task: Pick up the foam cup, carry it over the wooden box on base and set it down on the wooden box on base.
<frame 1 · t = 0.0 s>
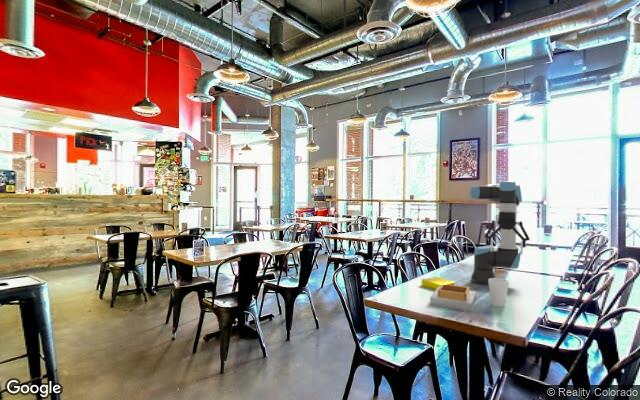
hand: (506, 252, 177), 28 cm above the table, tool pointing down, fingers open, 13 cm apart
foam cup: (498, 305, 180), on the table
wooden box on base: (453, 301, 185), on the table
element tile: (437, 287, 214), on the table
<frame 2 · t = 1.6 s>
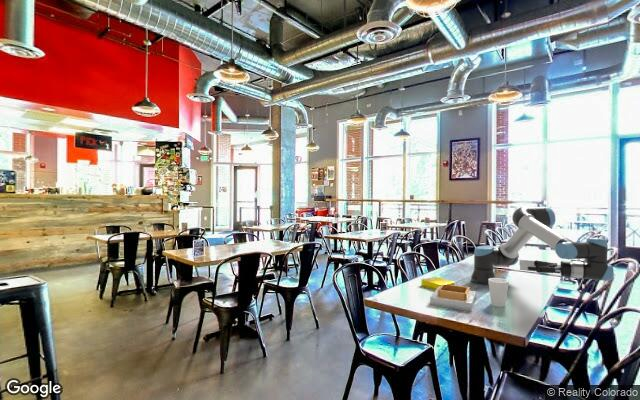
hand: (519, 264, 175), 22 cm above the table, tool horizontal, fingers open, 13 cm apart
nothing on the table moved.
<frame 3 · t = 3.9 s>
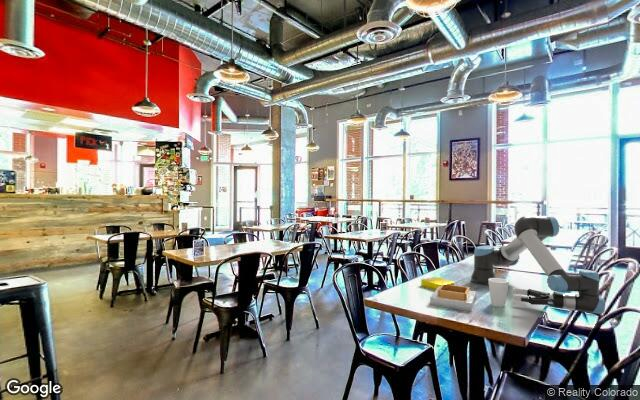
hand: (512, 294, 176), 7 cm above the table, tool horizontal, fingers open, 13 cm apart
nothing on the table moved.
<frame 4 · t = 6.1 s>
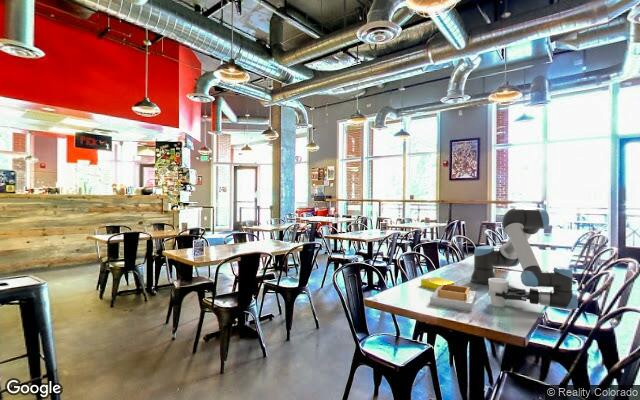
hand: (488, 290, 182), 7 cm above the table, tool horizontal, fingers closed on foam cup, 9 cm apart
foam cup: (498, 305, 180), on the table, touching gripper
everything else where it was.
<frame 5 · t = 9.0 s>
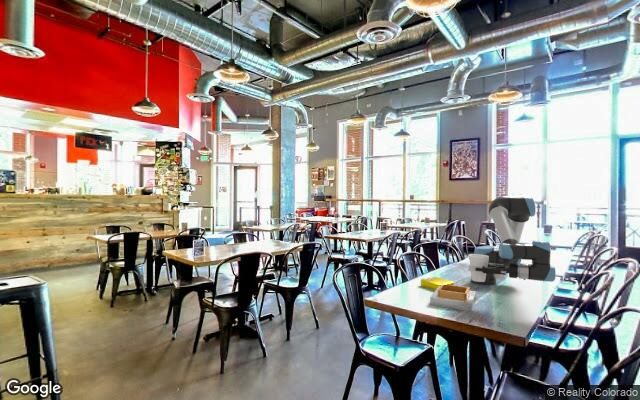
hand: (469, 266, 182), 20 cm above the table, tool horizontal, fingers closed on foam cup, 9 cm apart
foam cup: (478, 280, 180), point 12 cm above the table, touching gripper
everything else where it was.
when the fingers open (12 cm above the table, at t = 12.0 s): foam cup drops 1 cm, resting on wooden box on base.
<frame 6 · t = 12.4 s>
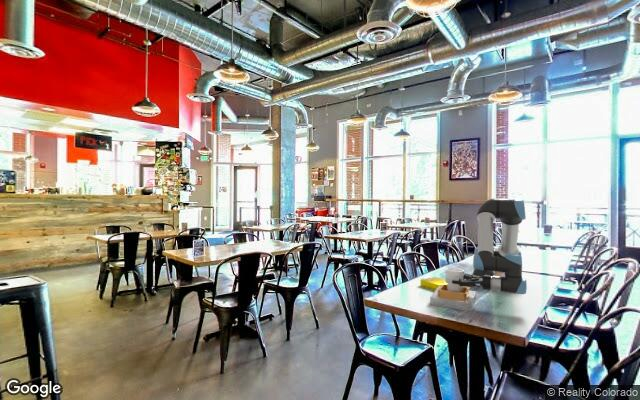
hand: (447, 277, 186), 12 cm above the table, tool horizontal, fingers open, 13 cm apart
foam cup: (454, 294, 185), point 4 cm above the table, touching wooden box on base
everything else where it was.
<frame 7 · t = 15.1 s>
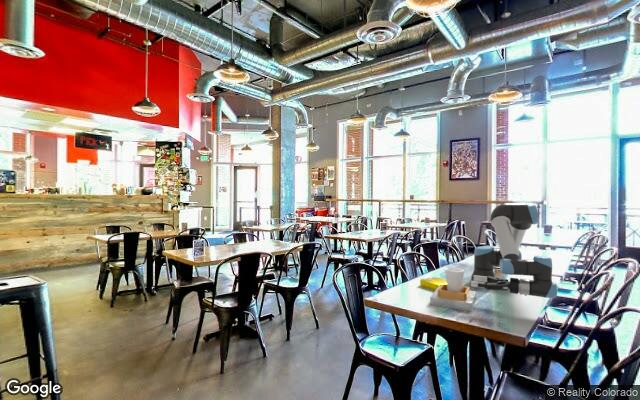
hand: (472, 280, 180), 13 cm above the table, tool horizontal, fingers open, 13 cm apart
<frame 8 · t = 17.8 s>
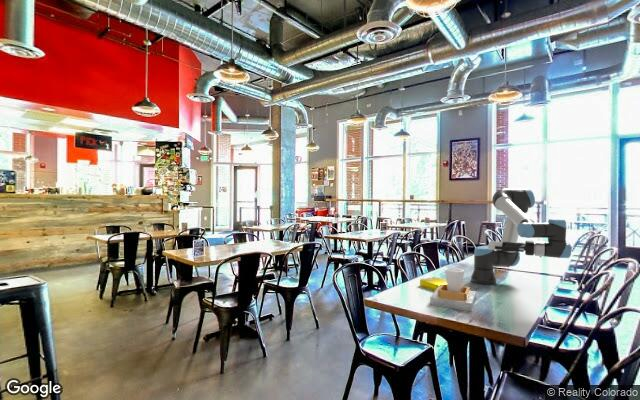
hand: (488, 245, 189), 30 cm above the table, tool horizontal, fingers open, 13 cm apart
at the end: foam cup 0.2 cm off-centre on the wooden box on base, point 4.0 cm above the wooden box on base's base; foam cup tilted 0°; the gripper is holding nothing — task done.
